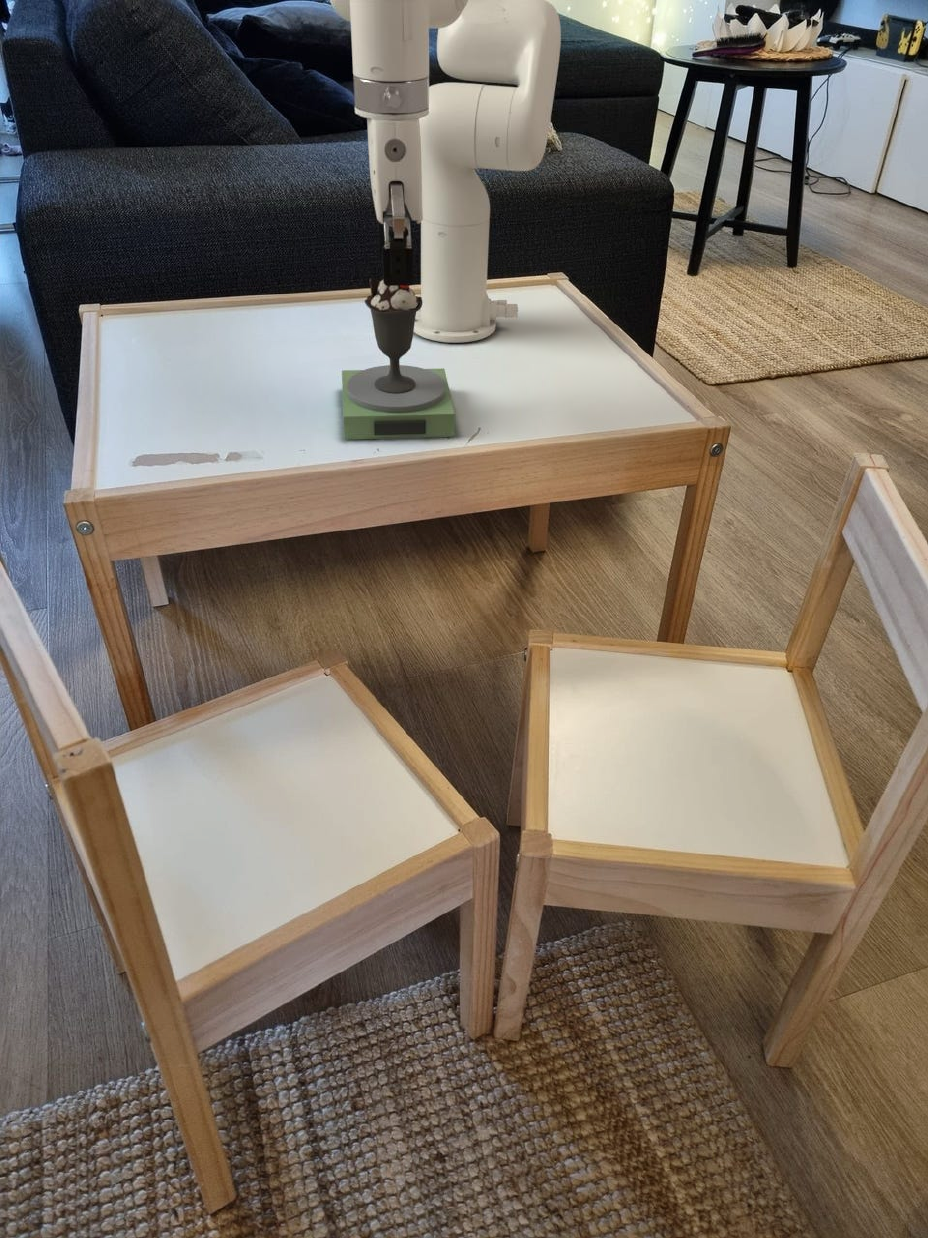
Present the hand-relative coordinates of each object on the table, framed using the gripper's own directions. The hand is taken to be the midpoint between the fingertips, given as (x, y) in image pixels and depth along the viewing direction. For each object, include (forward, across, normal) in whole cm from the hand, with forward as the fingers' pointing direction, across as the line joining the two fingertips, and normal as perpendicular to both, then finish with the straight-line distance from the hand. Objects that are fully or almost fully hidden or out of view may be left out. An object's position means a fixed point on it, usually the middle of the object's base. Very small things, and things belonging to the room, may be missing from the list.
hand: (395, 268), depth 103 cm
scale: (+17, -1, 0) cm, 17 cm away
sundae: (+14, -1, 0) cm, 14 cm away
